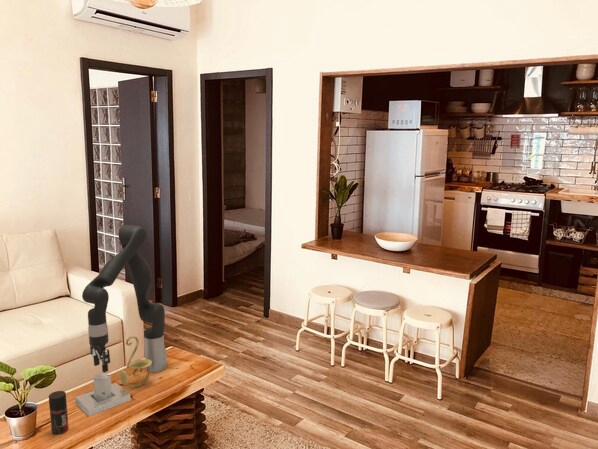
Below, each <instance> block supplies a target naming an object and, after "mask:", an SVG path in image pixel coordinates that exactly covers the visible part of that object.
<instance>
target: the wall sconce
mask: <svg viewBox="0 0 598 449" xmlns="http://www.w3.org/2000/svg"><path fill="white" fill-rule="evenodd" d="M131 339H135V341H136V344H135V347H134V349H133V350H132V353H131V355H130V356H129V359H128V361H127V365H126V368H125V370H120V371H119V373H118V376H119V378H118V379H119V381H120V383H121V384H122V386H129V387H131V388H138V387H141V386H142V385H144V384H145V383H146V382H147V381H148V379H149V378H150V374H151V372H150V370H149V367H148V366H150V365H151V363H152V361H151V360H149V359H145V358H139V359H136V360H133V361H132V359H133V357H134V355H135V354H136V351H137V350H138V347H139V345H140V344H139V343H140V342H139V341H140V340H139V338H138V337H137V336H135V335H131V336H129V337H128V338H127V339H126V342H125V344H126V346H131V345H132V344H133V343H132V341H131V342H129V341H130V340H131ZM129 367H130V368H132V369H134V370H133V374H132V375H133V377H134V378H139V377H140V376H141V373H143V370H144V369H146V368H147V371H146V372H147V375H146V377H145V379H143V381H142V382H140V383H139V384H135V385H134V384H131V383H130V382H129V378H130V375H129ZM138 370H139V373H140V374H137V375H136V372H137V371H138Z"/></svg>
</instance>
